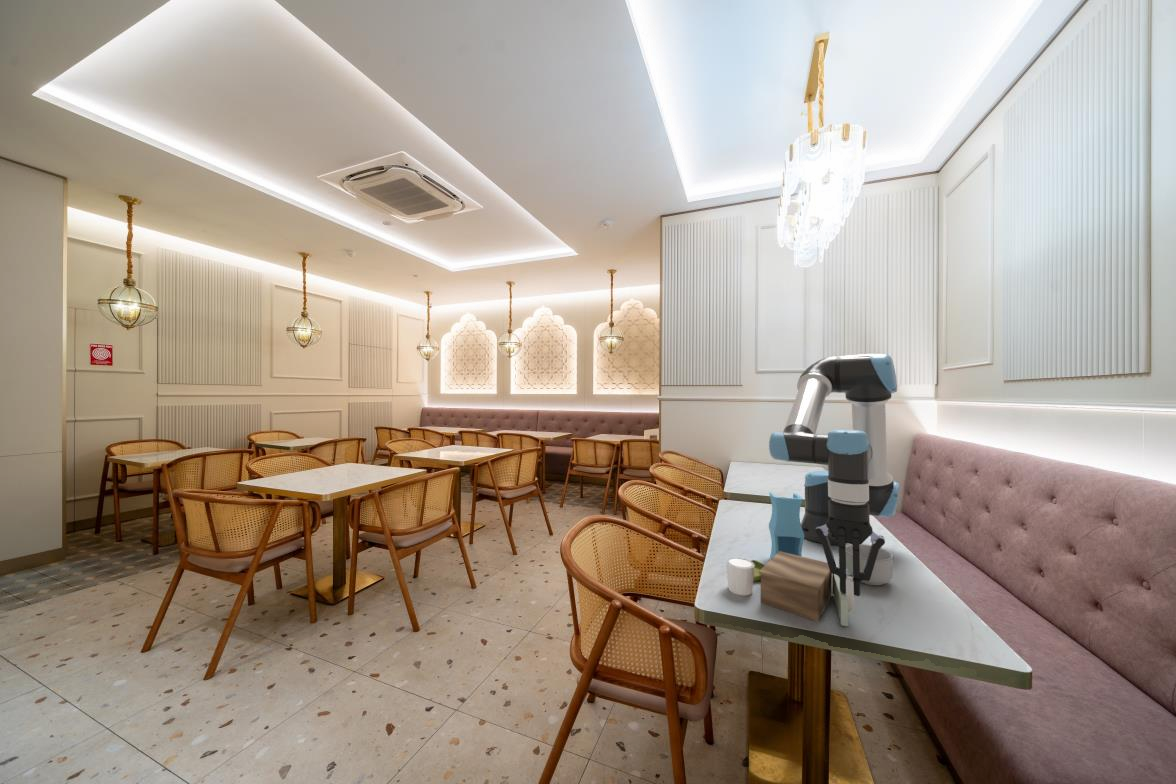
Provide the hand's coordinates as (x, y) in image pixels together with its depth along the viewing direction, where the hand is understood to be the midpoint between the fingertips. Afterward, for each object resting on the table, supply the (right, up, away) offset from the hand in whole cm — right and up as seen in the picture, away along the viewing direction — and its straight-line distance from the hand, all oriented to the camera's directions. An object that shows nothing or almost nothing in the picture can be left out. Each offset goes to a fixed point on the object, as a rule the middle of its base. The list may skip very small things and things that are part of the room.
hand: (850, 608), depth 86 cm
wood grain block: (-6, -3, +10) cm, 12 cm away
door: (+1, -2, +5) cm, 5 cm away
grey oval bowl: (+18, -4, +22) cm, 29 cm away
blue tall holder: (+2, -4, +31) cm, 31 cm away
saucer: (-11, -4, +24) cm, 26 cm away
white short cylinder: (-19, -3, +14) cm, 24 cm away
